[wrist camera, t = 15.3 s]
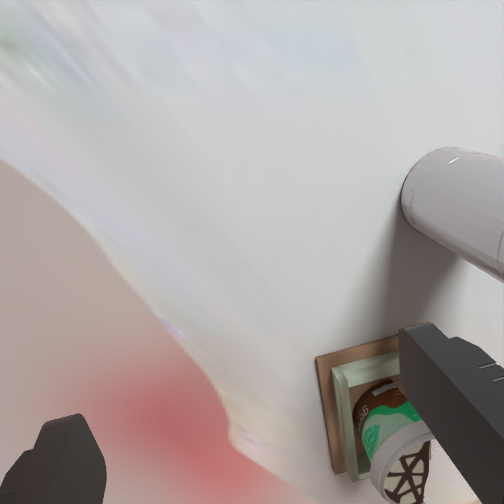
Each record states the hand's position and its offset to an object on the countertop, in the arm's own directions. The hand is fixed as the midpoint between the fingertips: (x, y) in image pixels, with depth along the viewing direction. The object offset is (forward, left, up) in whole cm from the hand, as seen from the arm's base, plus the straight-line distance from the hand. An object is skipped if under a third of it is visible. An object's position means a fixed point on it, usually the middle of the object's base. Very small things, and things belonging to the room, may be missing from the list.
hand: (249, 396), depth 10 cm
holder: (-15, +35, -30) cm, 49 cm away
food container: (-13, +35, -30) cm, 48 cm away
